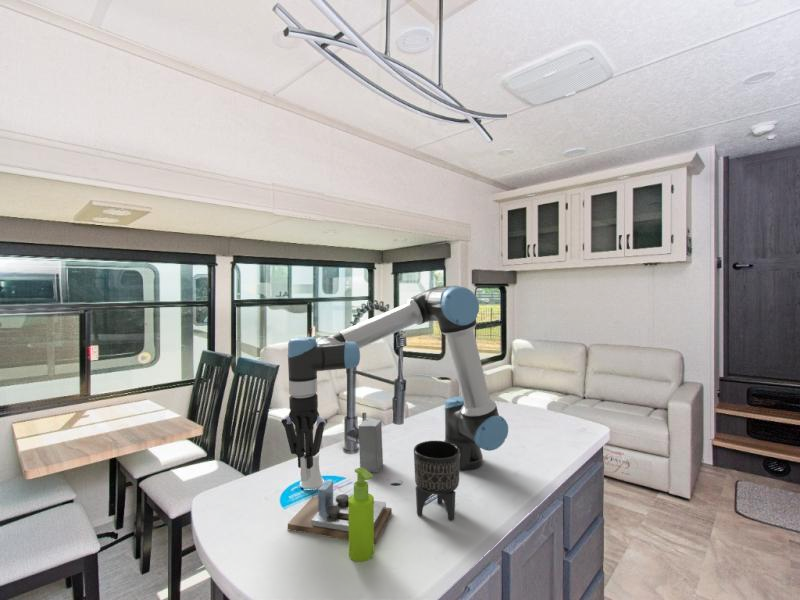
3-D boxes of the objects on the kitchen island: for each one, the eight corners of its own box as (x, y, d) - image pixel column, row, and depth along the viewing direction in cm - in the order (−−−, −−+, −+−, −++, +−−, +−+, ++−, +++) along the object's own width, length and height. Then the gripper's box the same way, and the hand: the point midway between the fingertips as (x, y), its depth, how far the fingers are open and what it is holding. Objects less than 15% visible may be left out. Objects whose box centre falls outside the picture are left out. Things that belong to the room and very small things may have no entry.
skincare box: (377, 473, 135) (377, 427, 135) (357, 471, 137) (357, 425, 136) (383, 462, 143) (383, 419, 143) (364, 461, 145) (364, 417, 144)
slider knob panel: (385, 507, 111) (385, 480, 111) (370, 535, 98) (370, 505, 98) (332, 499, 115) (332, 474, 115) (311, 525, 102) (311, 496, 102)
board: (391, 513, 111) (391, 496, 111) (375, 544, 98) (375, 525, 97) (312, 501, 117) (312, 485, 117) (287, 529, 104) (287, 511, 104)
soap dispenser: (359, 567, 89) (358, 479, 89) (344, 551, 95) (343, 468, 94) (381, 557, 93) (380, 472, 92) (365, 542, 98) (365, 461, 98)
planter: (469, 512, 112) (469, 449, 111) (439, 531, 103) (439, 463, 102) (434, 495, 121) (434, 436, 121) (404, 511, 112) (404, 448, 112)
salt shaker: (315, 492, 122) (315, 460, 122) (294, 488, 125) (294, 456, 125) (328, 481, 129) (328, 451, 129) (308, 477, 132) (308, 447, 132)
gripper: (331, 391, 111) (333, 475, 112) (289, 389, 115) (291, 470, 115) (319, 399, 104) (321, 488, 105) (274, 396, 107) (277, 483, 108)
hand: (305, 479), depth 110 cm, fingers closed
